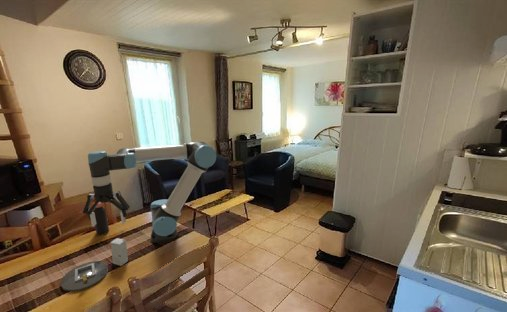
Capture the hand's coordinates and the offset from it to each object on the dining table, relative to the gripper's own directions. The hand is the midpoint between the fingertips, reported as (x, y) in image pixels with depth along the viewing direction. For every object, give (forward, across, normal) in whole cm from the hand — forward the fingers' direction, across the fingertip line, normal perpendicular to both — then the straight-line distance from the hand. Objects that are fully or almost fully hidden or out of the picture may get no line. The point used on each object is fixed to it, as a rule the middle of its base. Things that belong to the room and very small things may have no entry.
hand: (109, 224), depth 117 cm
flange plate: (+21, +9, +10) cm, 25 cm away
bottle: (+21, +19, -31) cm, 42 cm away
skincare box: (+21, -3, +1) cm, 22 cm away
